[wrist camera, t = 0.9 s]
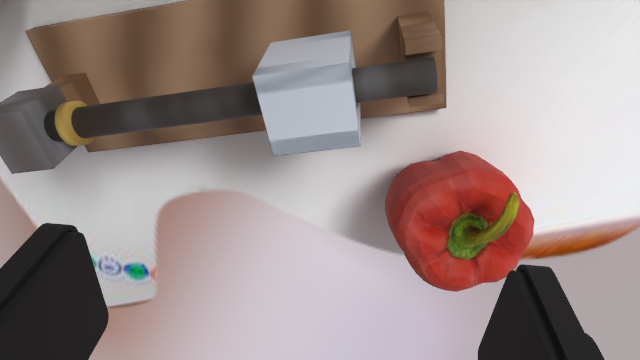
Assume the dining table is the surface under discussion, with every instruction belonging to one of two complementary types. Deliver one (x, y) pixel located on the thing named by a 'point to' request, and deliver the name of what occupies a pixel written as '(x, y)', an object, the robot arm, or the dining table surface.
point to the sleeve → (309, 94)
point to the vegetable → (458, 221)
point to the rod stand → (207, 71)
